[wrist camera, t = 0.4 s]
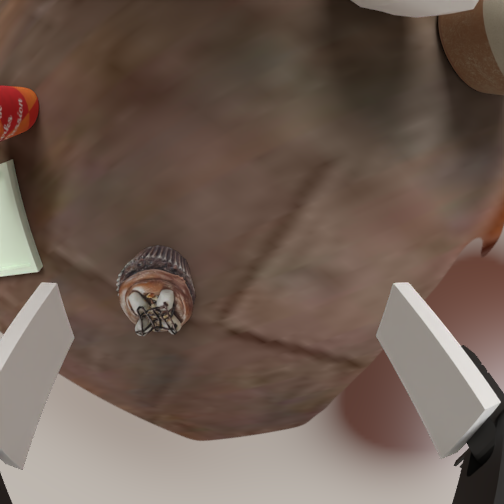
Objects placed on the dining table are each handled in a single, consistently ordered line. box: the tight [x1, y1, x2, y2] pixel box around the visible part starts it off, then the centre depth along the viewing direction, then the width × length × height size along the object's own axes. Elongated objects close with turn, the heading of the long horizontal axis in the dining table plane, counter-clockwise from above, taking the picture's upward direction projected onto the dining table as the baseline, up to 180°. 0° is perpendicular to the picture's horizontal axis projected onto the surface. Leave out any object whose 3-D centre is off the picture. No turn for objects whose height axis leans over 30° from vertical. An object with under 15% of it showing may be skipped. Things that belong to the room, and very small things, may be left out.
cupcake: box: [116, 245, 196, 336], centre depth 36 cm, size 10×10×10 cm
